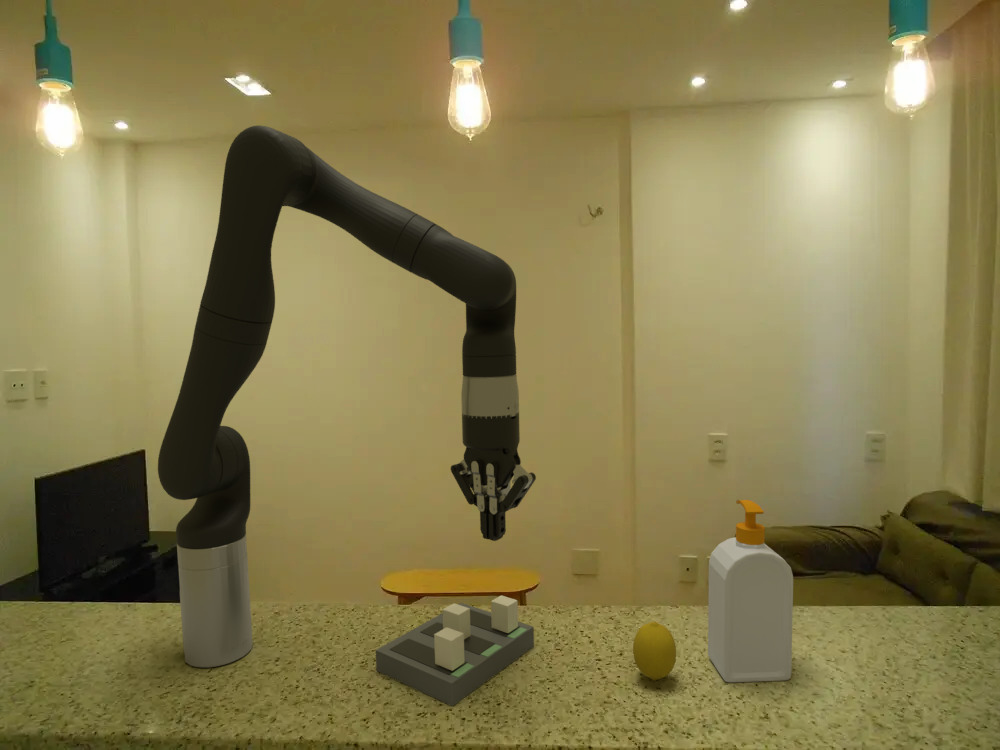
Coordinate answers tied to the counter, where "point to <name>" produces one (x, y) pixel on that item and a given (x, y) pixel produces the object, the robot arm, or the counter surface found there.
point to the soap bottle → (750, 606)
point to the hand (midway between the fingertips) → (493, 538)
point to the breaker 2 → (504, 614)
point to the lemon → (654, 650)
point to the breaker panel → (482, 656)
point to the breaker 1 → (449, 648)
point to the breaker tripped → (457, 619)
